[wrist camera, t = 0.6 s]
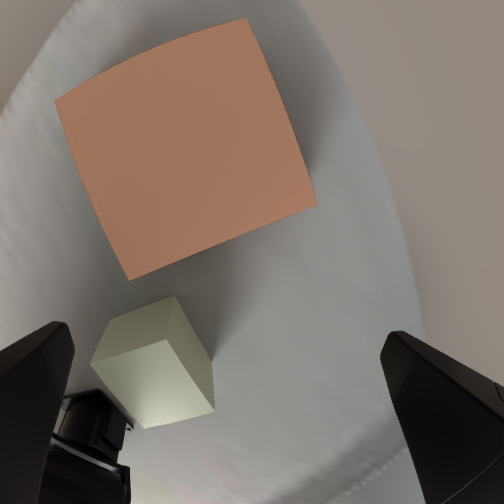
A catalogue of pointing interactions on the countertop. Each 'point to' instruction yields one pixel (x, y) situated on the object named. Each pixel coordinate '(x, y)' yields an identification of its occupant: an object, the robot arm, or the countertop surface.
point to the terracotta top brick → (185, 147)
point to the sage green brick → (156, 364)
